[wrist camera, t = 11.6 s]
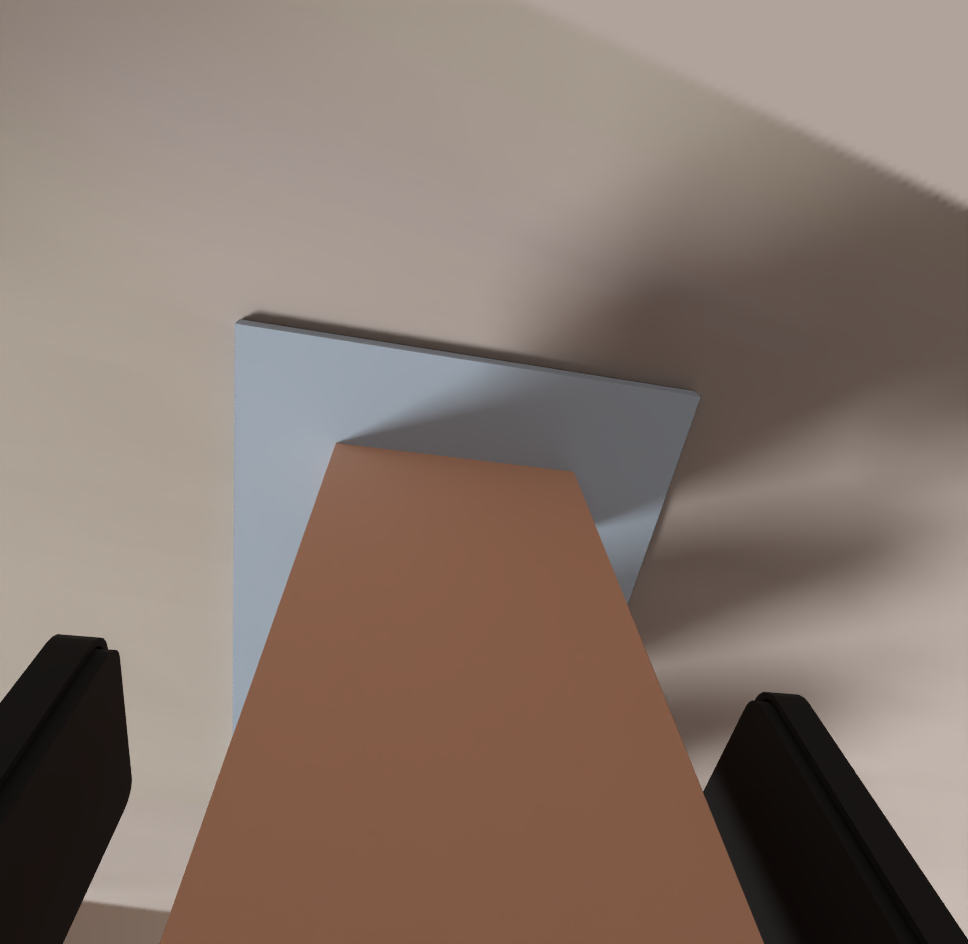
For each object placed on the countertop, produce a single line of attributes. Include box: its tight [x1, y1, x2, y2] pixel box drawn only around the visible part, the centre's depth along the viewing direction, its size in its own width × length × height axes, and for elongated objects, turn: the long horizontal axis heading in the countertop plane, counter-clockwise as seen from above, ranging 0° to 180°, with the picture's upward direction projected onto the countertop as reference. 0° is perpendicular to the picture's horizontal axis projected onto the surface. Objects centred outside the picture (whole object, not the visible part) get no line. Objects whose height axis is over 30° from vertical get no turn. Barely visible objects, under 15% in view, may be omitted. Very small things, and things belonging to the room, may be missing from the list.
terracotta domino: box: [160, 443, 764, 944], centre depth 11 cm, size 2×6×12 cm, turn 81°
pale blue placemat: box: [233, 319, 701, 734], centre depth 21 cm, size 11×25×1 cm, turn 170°
